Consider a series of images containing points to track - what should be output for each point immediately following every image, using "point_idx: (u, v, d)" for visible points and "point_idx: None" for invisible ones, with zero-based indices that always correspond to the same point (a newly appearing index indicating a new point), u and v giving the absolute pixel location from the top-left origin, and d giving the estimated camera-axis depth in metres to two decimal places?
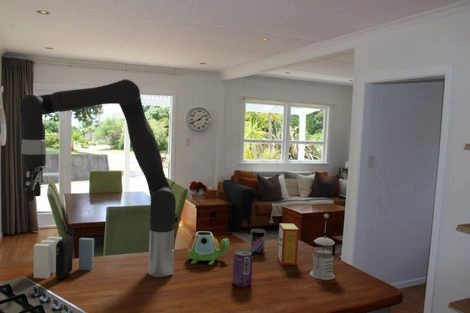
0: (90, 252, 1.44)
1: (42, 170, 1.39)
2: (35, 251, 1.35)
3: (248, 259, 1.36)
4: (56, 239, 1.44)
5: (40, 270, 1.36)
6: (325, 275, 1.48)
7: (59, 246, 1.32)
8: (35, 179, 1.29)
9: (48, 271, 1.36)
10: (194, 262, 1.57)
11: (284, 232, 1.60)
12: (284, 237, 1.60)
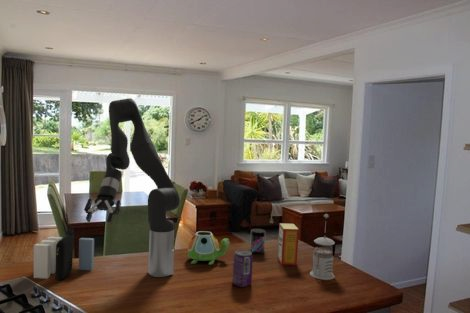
0: (90, 252, 1.44)
1: (118, 202, 1.61)
2: (35, 251, 1.35)
3: (248, 259, 1.36)
4: (56, 239, 1.44)
5: (40, 270, 1.36)
6: (325, 275, 1.48)
7: (59, 246, 1.32)
8: None
9: (48, 271, 1.36)
10: (194, 262, 1.57)
11: (284, 232, 1.60)
12: (284, 237, 1.60)
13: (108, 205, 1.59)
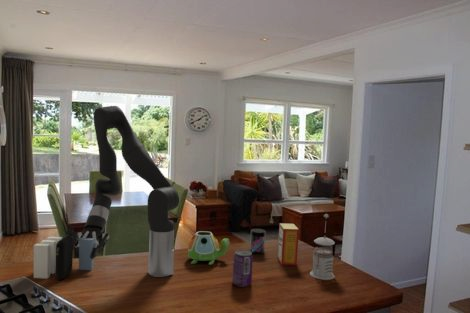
0: (90, 252, 1.44)
1: (106, 236, 1.48)
2: (35, 251, 1.35)
3: (248, 259, 1.36)
4: (56, 239, 1.44)
5: (40, 270, 1.36)
6: (325, 275, 1.48)
7: (59, 246, 1.32)
8: None
9: (48, 271, 1.36)
10: (194, 262, 1.57)
11: (284, 232, 1.60)
12: (284, 237, 1.60)
13: (94, 238, 1.47)
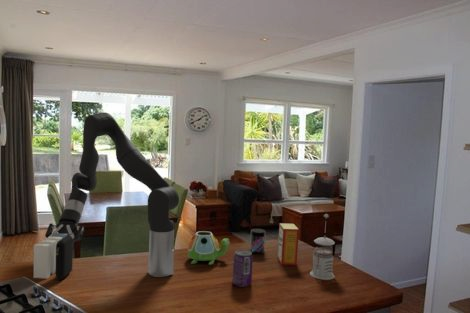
0: None
1: (81, 227, 1.53)
2: (35, 251, 1.35)
3: (248, 259, 1.36)
4: (56, 239, 1.44)
5: (40, 270, 1.36)
6: (325, 275, 1.48)
7: (59, 246, 1.32)
8: (55, 230, 1.52)
9: (48, 271, 1.36)
10: (194, 262, 1.57)
11: (284, 232, 1.60)
12: (284, 237, 1.60)
13: (69, 230, 1.51)
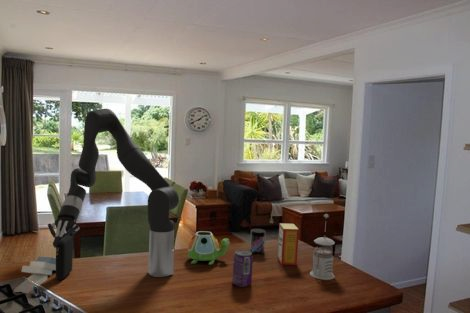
0: None
1: (75, 228, 1.50)
2: None
3: (248, 259, 1.36)
4: None
5: None
6: (325, 275, 1.48)
7: (59, 246, 1.32)
8: (57, 228, 1.50)
9: (44, 280, 1.33)
10: (194, 262, 1.57)
11: (284, 232, 1.60)
12: (284, 237, 1.60)
13: (64, 227, 1.50)
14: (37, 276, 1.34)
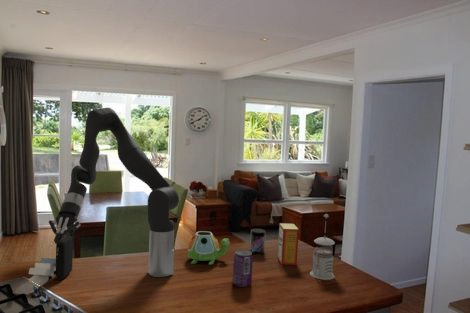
0: None
1: (76, 224, 1.51)
2: None
3: (248, 259, 1.36)
4: None
5: None
6: (325, 275, 1.48)
7: (59, 246, 1.32)
8: (58, 224, 1.51)
9: (45, 281, 1.32)
10: (194, 262, 1.57)
11: (284, 232, 1.60)
12: (284, 237, 1.60)
13: (65, 224, 1.51)
14: (38, 277, 1.33)
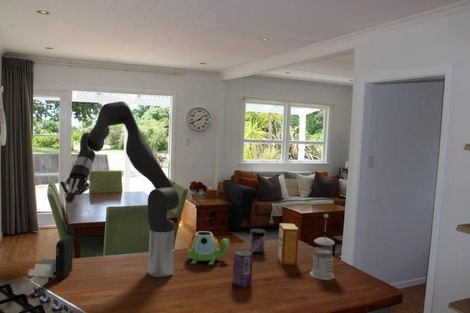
0: None
1: (86, 185, 1.60)
2: None
3: (248, 259, 1.36)
4: None
5: None
6: (325, 275, 1.48)
7: (59, 246, 1.32)
8: None
9: (45, 282, 1.31)
10: (194, 262, 1.57)
11: (284, 232, 1.60)
12: (284, 237, 1.60)
13: (76, 184, 1.60)
14: (38, 278, 1.32)
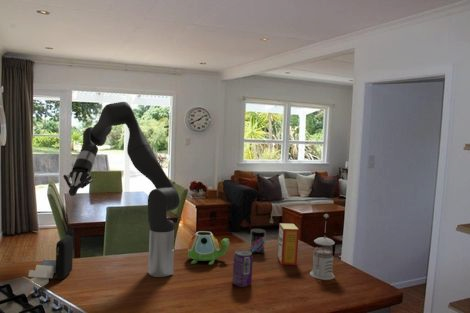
0: None
1: (89, 178, 1.62)
2: None
3: (248, 259, 1.36)
4: (46, 271, 1.30)
5: None
6: (325, 275, 1.48)
7: (59, 246, 1.32)
8: (72, 178, 1.62)
9: (44, 284, 1.30)
10: (194, 262, 1.57)
11: (284, 232, 1.60)
12: (284, 237, 1.60)
13: (78, 178, 1.62)
14: (38, 279, 1.31)
